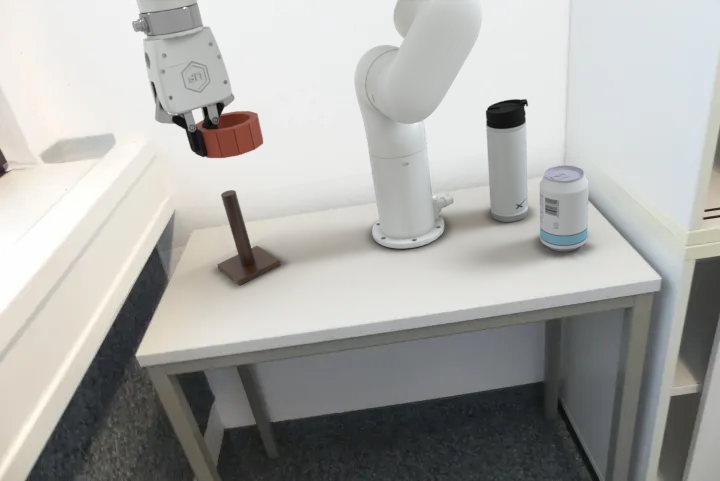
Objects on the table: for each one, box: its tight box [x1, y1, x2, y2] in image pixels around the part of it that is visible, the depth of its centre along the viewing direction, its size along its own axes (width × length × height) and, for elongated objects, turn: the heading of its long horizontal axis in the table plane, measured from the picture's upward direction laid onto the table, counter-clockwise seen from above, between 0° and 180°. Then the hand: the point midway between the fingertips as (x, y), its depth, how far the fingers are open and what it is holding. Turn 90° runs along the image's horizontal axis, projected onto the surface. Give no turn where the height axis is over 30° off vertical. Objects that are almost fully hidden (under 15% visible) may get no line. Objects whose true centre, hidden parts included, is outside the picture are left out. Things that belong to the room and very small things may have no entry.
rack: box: [217, 189, 282, 286], centre depth 99 cm, size 8×8×14 cm
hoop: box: [195, 110, 264, 159], centre depth 90 cm, size 9×9×4 cm
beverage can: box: [539, 164, 590, 252], centre depth 91 cm, size 7×7×12 cm
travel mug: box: [485, 98, 529, 223], centre depth 100 cm, size 6×7×20 cm
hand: (207, 151), depth 88 cm, fingers closed on hoop, 1 cm apart
